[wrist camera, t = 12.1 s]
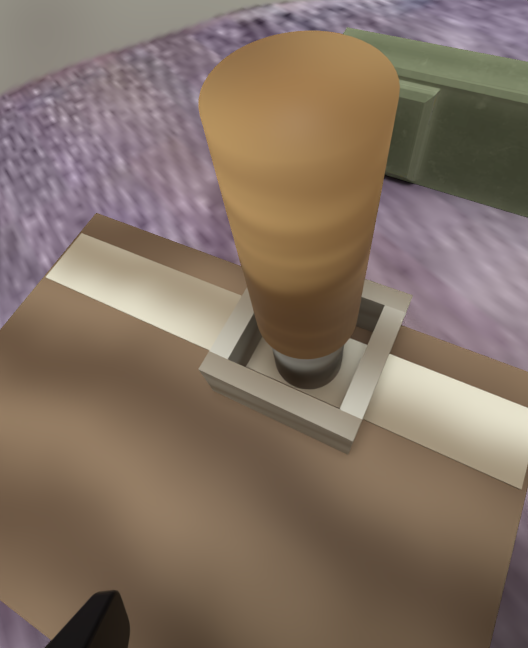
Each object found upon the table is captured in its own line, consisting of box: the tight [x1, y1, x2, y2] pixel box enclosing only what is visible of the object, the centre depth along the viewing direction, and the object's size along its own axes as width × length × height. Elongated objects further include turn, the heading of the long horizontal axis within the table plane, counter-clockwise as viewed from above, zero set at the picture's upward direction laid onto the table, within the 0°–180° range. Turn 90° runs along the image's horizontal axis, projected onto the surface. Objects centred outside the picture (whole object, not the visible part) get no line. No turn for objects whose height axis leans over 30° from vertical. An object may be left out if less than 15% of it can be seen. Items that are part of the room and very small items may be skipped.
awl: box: [199, 31, 400, 390], centre depth 13 cm, size 3×3×12 cm
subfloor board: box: [0, 213, 528, 648], centre depth 16 cm, size 16×23×4 cm
